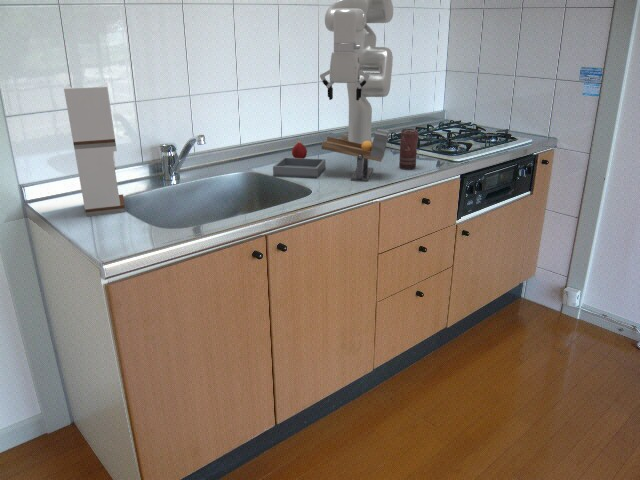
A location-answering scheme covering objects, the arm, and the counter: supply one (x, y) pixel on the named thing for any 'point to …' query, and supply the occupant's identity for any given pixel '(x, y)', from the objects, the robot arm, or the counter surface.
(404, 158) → the can
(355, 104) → the robot arm
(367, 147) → the ball
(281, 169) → the tray
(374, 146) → the chute
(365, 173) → the chute stand
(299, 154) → the onion
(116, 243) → the counter surface
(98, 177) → the grey pillar
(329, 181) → the counter surface
